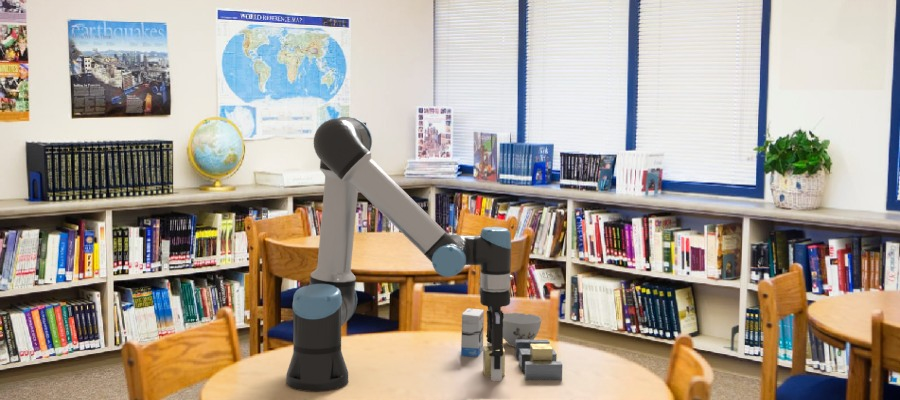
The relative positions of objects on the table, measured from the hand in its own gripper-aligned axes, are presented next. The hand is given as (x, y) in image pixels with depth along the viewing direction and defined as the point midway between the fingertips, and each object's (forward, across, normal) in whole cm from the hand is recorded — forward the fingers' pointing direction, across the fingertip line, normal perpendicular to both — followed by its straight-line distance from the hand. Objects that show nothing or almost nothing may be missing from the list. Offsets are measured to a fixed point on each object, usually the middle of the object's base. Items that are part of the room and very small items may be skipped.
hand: (494, 374), depth 252 cm
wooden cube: (0, 0, -12) cm, 12 cm away
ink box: (0, +20, +4) cm, 20 cm away
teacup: (0, +31, -10) cm, 33 cm away
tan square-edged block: (0, 0, 0) cm, 0 cm away
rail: (0, +6, -12) cm, 13 cm away
